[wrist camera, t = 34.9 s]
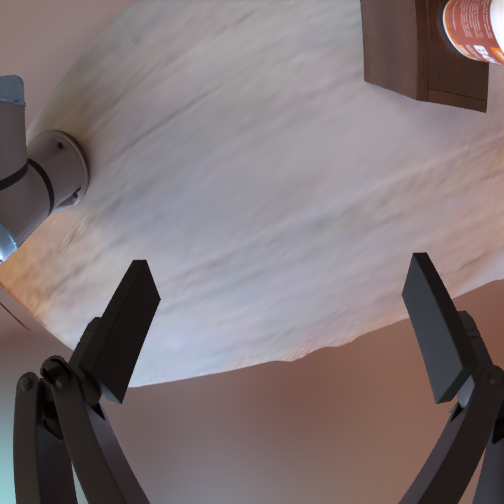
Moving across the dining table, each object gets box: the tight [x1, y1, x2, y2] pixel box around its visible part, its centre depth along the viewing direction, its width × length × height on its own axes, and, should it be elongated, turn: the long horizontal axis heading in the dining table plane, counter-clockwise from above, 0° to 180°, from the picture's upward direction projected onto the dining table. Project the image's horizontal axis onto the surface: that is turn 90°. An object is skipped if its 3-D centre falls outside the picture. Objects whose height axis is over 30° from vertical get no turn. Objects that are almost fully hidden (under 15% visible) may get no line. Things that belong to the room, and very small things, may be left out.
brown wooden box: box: [360, 0, 489, 113], centre depth 22 cm, size 19×16×16 cm
